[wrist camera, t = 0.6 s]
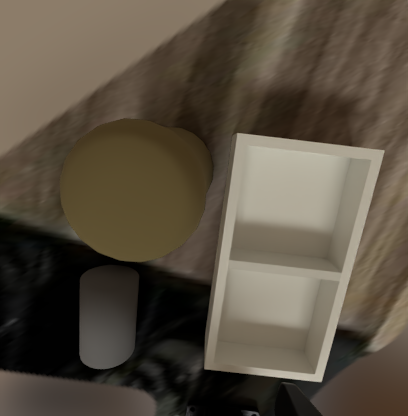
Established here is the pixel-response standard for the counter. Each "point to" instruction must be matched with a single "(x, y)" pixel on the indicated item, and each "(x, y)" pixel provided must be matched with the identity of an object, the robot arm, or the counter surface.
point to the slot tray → (285, 253)
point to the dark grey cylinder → (108, 315)
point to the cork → (136, 188)
